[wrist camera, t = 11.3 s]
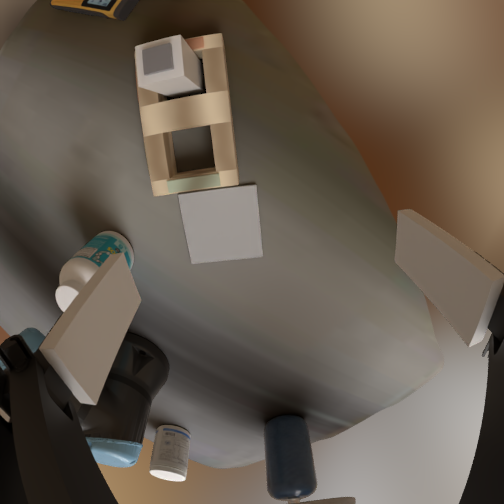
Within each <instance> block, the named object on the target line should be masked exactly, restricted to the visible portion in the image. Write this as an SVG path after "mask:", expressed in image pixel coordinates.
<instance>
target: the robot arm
mask: <svg viewBox="0 0 504 504" xmlns="http://www.w3.org/2000/svg"><path fill="white" fill-rule="evenodd" d="M395 263H396V264H397V265H398V266H399V267H400V268H401V269H402V270H403V271H404V272H405V273H406V274H407V275H408V276H409V277H410V279H411V280H412V281H413V282H414V283H415V284H416V285H417V286H418V287H419V288H420V290H421V291H422V292H423V293H424V294H425V295H426V296H427V297H428V298H429V300H430V301H431V302H432V303H433V304H434V305H435V306H436V308H437V309H438V310H439V311H440V312H441V314H442V315H443V316H444V317H445V318H446V320H447V321H448V322H449V323H450V325H451V326H452V327H453V328H454V329H455V331H456V332H457V333H458V335H459V336H460V337H461V338H462V340H463V341H464V342H465V343H466V345H467V346H468V347H471V346H473V345H475V344H477V343H478V342H481V341H482V340H483V337H484V335H485V333H486V330H487V328H488V329H489V330H490V331H491V332H492V334H491V336H490V339H489V341H488V343H487V345H486V347H485V349H484V351H483V354H482V357H484V356H485V354H486V352H487V351H488V350H489V355H488V358H489V363H488V379H487V390H486V399H485V406H484V413H483V419H482V425H481V430H480V435H479V440H478V444H477V449H476V452H475V457H474V460H473V464H472V467H471V470H470V474H469V477H468V480H467V483H466V486H465V489H464V492H463V494H462V497H461V500H460V502H459V504H504V273H502V272H501V271H500V270H499V269H497V268H496V267H495V266H494V265H492V264H490V262H488V261H487V260H484V258H483V257H482V256H481V255H479V254H478V253H477V252H475V251H473V250H471V249H470V248H469V247H467V246H466V245H464V244H463V243H462V242H460V241H459V240H457V239H456V238H454V237H453V236H452V235H450V234H448V233H447V232H446V231H444V230H443V229H441V228H440V227H438V226H437V225H435V224H434V223H432V222H430V221H429V220H427V219H426V218H424V217H423V216H421V215H419V214H418V213H416V212H414V211H413V210H411V209H407V210H399V211H398V220H397V238H396V251H395ZM140 302H141V298H140V295H139V293H138V290H137V288H136V285H135V282H134V280H133V277H132V275H131V272H130V269H129V266H128V264H127V261H126V258H125V255H124V252H122V253H117V254H112V255H110V256H109V257H108V258H107V259H106V260H105V262H104V263H103V264H102V265H101V266H100V267H99V269H98V270H97V271H96V272H95V273H94V275H93V276H92V277H91V278H90V280H89V281H88V282H87V283H86V284H85V286H84V287H83V288H82V290H81V291H80V292H79V293H78V295H77V296H76V297H75V298H74V300H73V301H72V302H71V304H70V305H69V306H68V308H67V309H66V310H65V312H64V313H63V314H62V315H61V316H60V317H59V319H58V320H57V321H56V323H55V324H54V326H53V327H52V328H51V330H50V331H49V332H50V333H48V334H47V336H46V337H45V336H44V335H43V334H42V333H41V332H40V331H39V330H37V329H35V328H27V329H25V330H24V331H22V332H21V333H20V334H18V335H13V336H11V337H9V338H8V339H6V340H5V341H4V342H3V343H2V344H1V345H0V504H118V502H117V501H116V499H115V497H114V495H113V494H112V492H111V490H110V488H109V486H108V485H107V483H106V481H105V479H104V477H103V475H102V473H101V471H100V469H99V467H98V465H97V463H101V464H104V465H109V466H114V467H130V466H133V465H134V464H135V463H136V462H137V460H138V457H139V454H140V451H141V448H142V447H143V445H142V442H143V438H144V433H145V428H146V424H147V420H148V415H149V411H150V407H151V403H152V400H153V399H154V397H155V396H156V395H157V393H158V392H159V390H160V389H161V388H162V386H163V385H164V384H165V382H166V380H167V377H168V373H169V363H168V360H167V358H166V357H165V355H164V354H163V353H162V351H161V350H160V349H159V348H157V347H156V346H155V345H154V344H152V343H151V342H149V341H148V340H146V339H144V338H142V337H140V336H137V335H135V334H131V333H127V330H128V328H129V326H130V324H131V321H132V319H133V317H134V315H135V313H136V311H137V309H138V307H139V305H140ZM96 462H97V463H96Z"/></svg>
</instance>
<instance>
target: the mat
mask: <svg viewBox="0 0 504 504" xmlns="http://www.w3.org/2000/svg"><path fill="white" fill-rule="evenodd" d="M178 198H179V203H180V208H181V214H182V219H183V224H184V229H185V234H186V239H187V244H188V248H189V253H190V258H191V262H192V264H195V263H205V262H216V261H226V260H236V259H246V258H256V257H263V251H262V240H261V230H260V219H259V209H258V199H257V189H256V184H254V185H245V186H235V187H227V188H218V189H211V190H203V191H196V192H188V193H182V194H178Z"/></svg>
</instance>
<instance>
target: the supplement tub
mask: <svg viewBox="0 0 504 504" xmlns="http://www.w3.org/2000/svg"><path fill="white" fill-rule="evenodd" d="M189 446H190V434H189V432H188V431H186V430H185V429H183V428H181V427H178V426H174V425H162V426H159V427H158V428H157V430H156V435H155V440H154V445H153V451H152V456H151V462H150V473H151V474H152V475H154V476H156V477H158V478H161V479H165V480H170V481H184V480H185V479H186V475H187V466H188V456H189Z"/></svg>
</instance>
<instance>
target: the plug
mask: <svg viewBox="0 0 504 504" xmlns="http://www.w3.org/2000/svg"><path fill="white" fill-rule="evenodd" d="M135 51H136V65H137V77H138V87H141V88H144V89H148V90H151V91H154V92H157V93H160V94H163V95H166V96H169V97H172V98H175V97H180V96H185V95H190V94H196V93H202V92H205V89H204V80H203V71H202V63H201V61H200V60H199V59H198V57H197V56H196V55H195V53H194V52H193V50H192V49H191V48H190V46H189V45H188V44H187V42H186V41H185V40H184V38H183V37H182V36H181V35H176V36H172V37H168V38H163V39H159V40H156V41H152V42H148V43H145V44H141V45H138V46H135Z"/></svg>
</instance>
